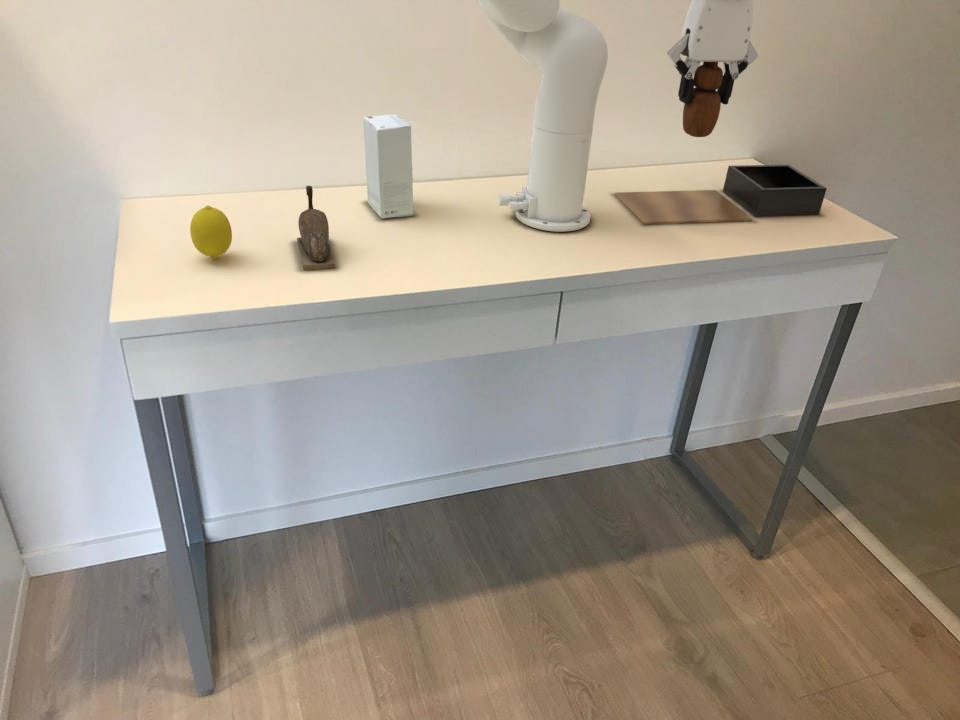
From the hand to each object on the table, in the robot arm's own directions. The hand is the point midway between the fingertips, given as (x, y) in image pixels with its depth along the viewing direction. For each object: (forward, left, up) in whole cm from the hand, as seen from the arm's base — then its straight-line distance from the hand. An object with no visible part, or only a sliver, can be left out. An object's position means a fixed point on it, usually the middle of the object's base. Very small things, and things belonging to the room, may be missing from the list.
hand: (703, 101), depth 132 cm
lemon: (-79, -14, -19) cm, 82 cm away
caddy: (+18, +1, -19) cm, 26 cm away
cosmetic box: (-52, +3, -19) cm, 55 cm away
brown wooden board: (0, 0, -19) cm, 19 cm away
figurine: (-65, -12, -19) cm, 69 cm away
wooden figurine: (0, 0, -6) cm, 6 cm away
